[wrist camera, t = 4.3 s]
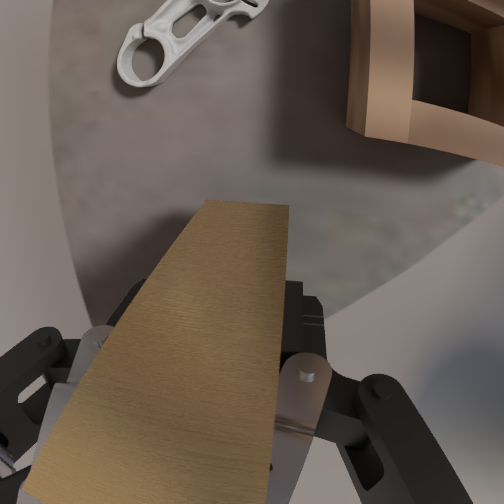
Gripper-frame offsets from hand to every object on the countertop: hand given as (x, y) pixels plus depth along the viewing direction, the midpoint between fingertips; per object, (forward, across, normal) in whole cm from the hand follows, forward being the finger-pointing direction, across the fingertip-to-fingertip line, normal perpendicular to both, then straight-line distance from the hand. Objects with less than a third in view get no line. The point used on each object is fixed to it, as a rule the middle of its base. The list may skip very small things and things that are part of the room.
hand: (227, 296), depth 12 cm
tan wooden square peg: (+5, 0, 0) cm, 5 cm away
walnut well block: (+9, -10, -11) cm, 17 cm away
